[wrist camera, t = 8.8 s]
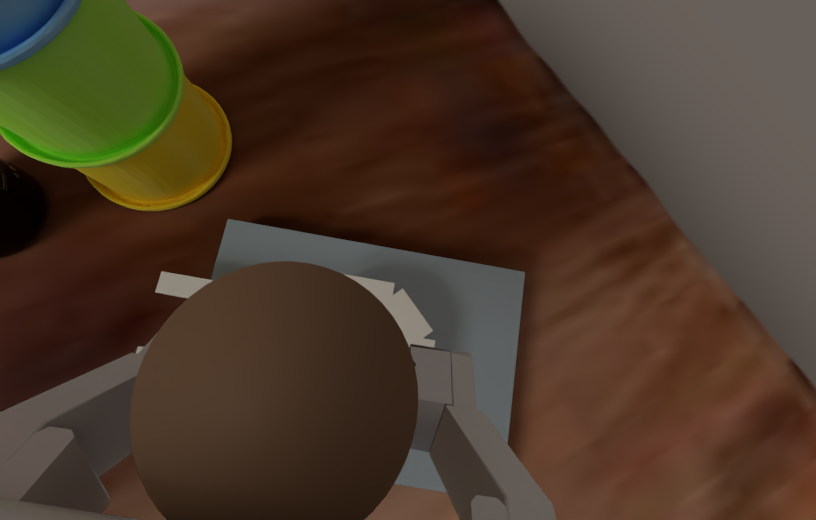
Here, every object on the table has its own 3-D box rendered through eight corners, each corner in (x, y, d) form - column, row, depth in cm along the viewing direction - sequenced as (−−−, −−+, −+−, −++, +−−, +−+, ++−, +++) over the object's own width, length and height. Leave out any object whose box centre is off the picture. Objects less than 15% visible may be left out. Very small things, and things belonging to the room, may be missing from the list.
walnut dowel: (286, 404, 15) (87, 535, 5) (309, 302, 15) (178, 240, 6) (388, 420, 15) (392, 581, 5) (404, 319, 16) (437, 285, 6)
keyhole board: (155, 433, 24) (103, 455, 19) (216, 223, 27) (183, 200, 22) (492, 488, 24) (516, 521, 20) (514, 276, 27) (540, 264, 23)
